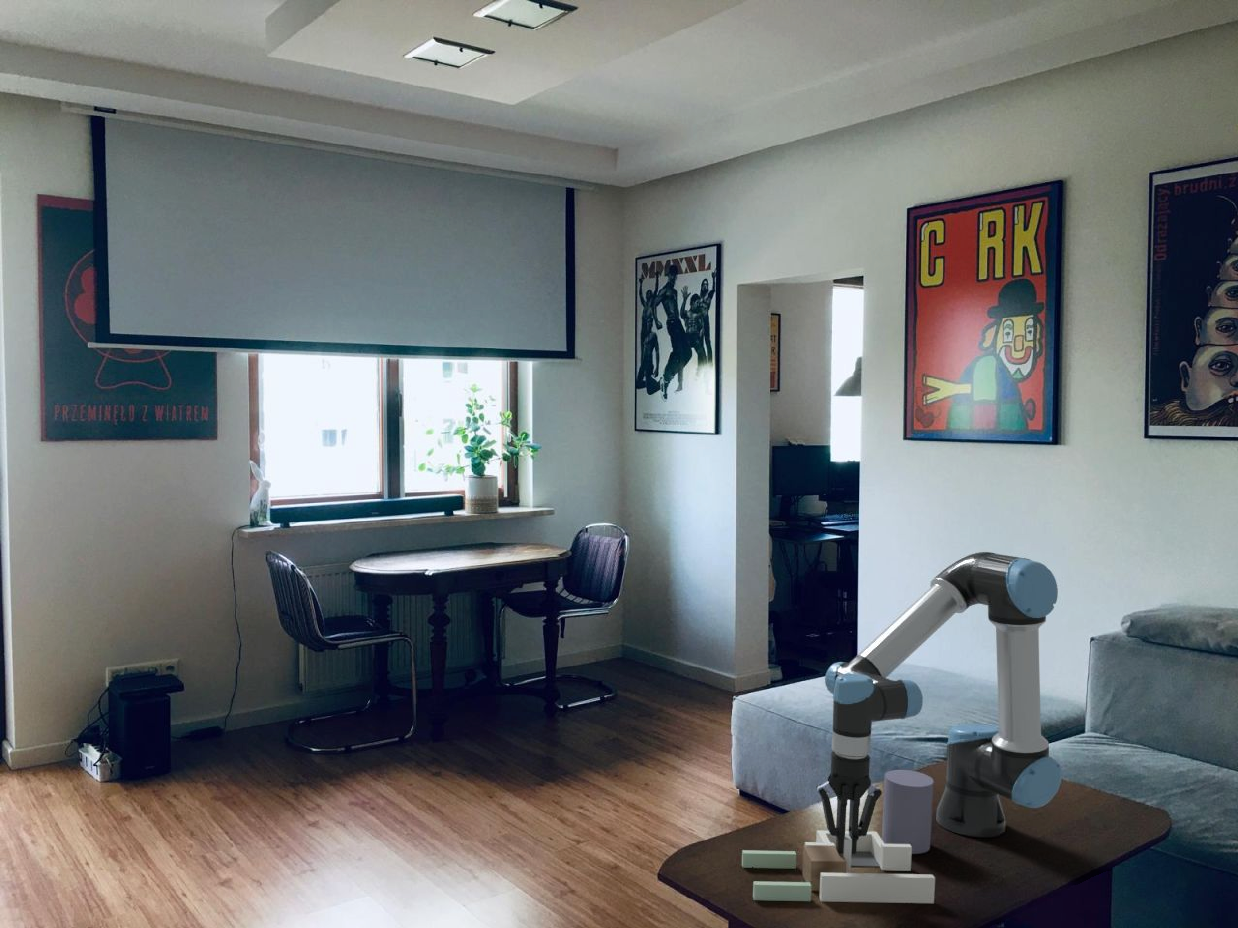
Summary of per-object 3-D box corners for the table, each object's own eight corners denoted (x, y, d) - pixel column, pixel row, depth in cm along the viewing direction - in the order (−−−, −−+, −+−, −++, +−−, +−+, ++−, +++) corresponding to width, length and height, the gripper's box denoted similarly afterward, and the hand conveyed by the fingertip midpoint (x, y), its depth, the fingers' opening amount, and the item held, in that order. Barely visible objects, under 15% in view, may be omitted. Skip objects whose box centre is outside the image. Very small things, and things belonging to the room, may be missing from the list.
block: (836, 875, 208) (837, 846, 208) (845, 891, 201) (846, 861, 201) (802, 874, 208) (803, 845, 208) (810, 890, 201) (811, 860, 201)
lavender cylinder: (895, 856, 218) (898, 787, 218) (873, 836, 228) (876, 770, 228) (939, 853, 220) (942, 785, 220) (915, 834, 231) (918, 768, 230)
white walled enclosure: (895, 849, 222) (897, 827, 221) (933, 903, 198) (935, 877, 197) (795, 847, 221) (796, 825, 220) (821, 901, 197) (822, 875, 197)
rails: (794, 865, 212) (794, 851, 212) (810, 900, 197) (811, 885, 197) (741, 864, 212) (742, 850, 212) (754, 899, 196) (754, 884, 196)
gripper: (877, 747, 207) (871, 861, 209) (813, 745, 207) (808, 859, 208) (888, 759, 200) (882, 877, 201) (822, 758, 199) (817, 876, 201)
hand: (845, 868), depth 205 cm, fingers closed
